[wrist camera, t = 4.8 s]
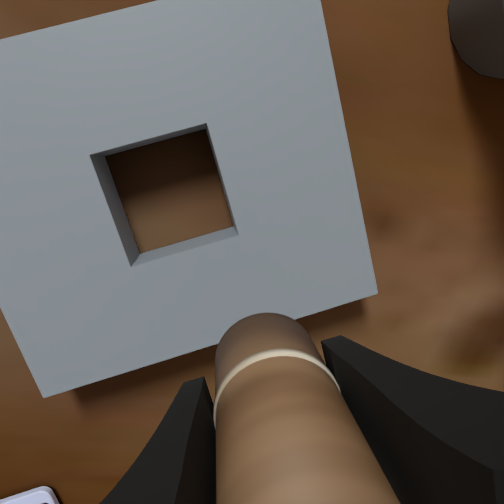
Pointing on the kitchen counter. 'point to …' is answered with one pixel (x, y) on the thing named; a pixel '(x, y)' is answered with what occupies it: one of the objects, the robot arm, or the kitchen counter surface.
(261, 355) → the peg
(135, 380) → the kitchen counter surface
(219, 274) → the board
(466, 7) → the candle holder
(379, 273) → the kitchen counter surface
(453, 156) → the kitchen counter surface
